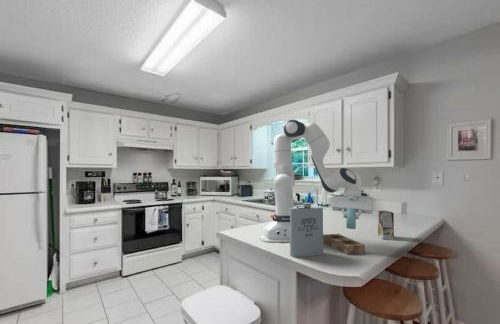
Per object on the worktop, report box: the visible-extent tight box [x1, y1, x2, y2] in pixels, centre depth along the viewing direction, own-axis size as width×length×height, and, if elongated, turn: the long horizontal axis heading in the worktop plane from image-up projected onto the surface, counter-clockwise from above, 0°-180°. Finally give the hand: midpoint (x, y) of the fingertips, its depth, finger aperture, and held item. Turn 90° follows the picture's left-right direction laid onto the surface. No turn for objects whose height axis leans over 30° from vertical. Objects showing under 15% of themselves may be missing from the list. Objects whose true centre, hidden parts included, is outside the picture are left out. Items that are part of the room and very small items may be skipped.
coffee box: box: [377, 210, 395, 241], centre depth 144 cm, size 9×6×16 cm
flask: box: [289, 202, 324, 258], centre depth 113 cm, size 17×5×25 cm, turn 107°
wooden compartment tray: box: [323, 233, 366, 255], centre depth 125 cm, size 10×22×4 cm, turn 13°
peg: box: [345, 208, 357, 230], centre depth 120 cm, size 4×4×10 cm
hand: (351, 217), depth 120 cm, fingers closed on peg, 4 cm apart
